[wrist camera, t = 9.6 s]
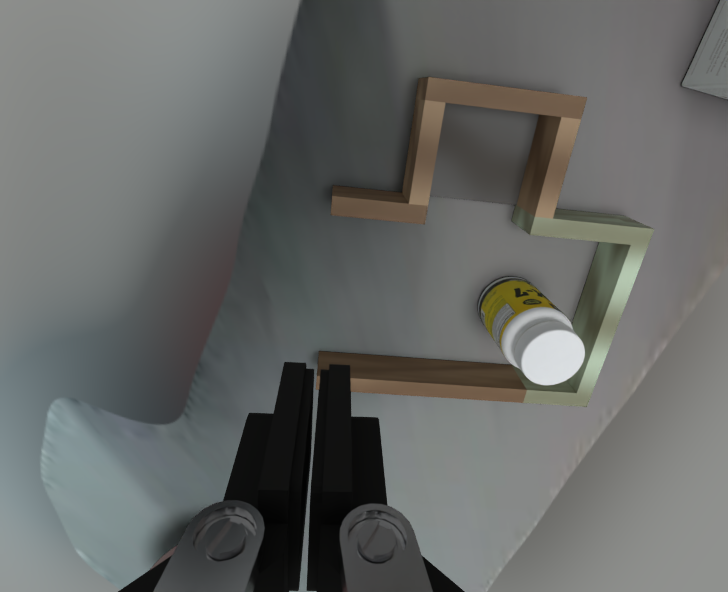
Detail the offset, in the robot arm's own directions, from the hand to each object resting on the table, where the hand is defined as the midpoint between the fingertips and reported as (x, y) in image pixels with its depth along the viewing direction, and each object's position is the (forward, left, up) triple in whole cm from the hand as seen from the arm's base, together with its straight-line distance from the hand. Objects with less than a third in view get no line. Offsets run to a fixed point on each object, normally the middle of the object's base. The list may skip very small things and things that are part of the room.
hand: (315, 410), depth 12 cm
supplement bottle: (+6, +14, -22) cm, 27 cm away
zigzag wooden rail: (+2, +11, -22) cm, 25 cm away
